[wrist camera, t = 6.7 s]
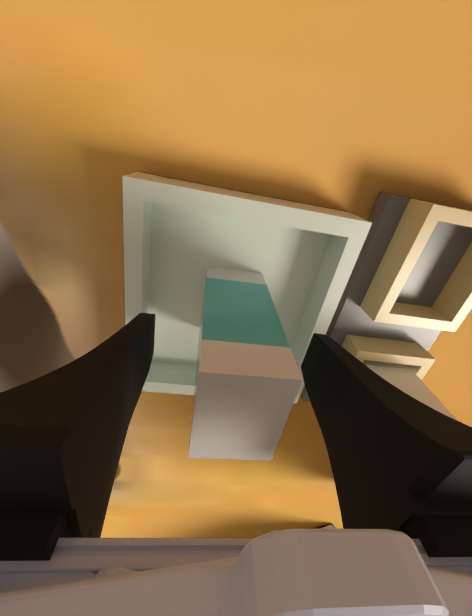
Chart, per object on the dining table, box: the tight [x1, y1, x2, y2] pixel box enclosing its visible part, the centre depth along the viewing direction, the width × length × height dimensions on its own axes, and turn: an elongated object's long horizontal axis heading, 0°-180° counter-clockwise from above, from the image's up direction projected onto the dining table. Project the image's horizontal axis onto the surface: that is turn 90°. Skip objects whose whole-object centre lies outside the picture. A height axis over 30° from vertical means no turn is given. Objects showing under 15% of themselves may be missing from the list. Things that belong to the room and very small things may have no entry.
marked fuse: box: [188, 266, 302, 461], centre depth 12 cm, size 4×3×8 cm
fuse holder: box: [301, 192, 472, 401], centre depth 16 cm, size 14×7×3 cm, turn 170°
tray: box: [122, 172, 372, 403], centre depth 15 cm, size 12×11×2 cm
